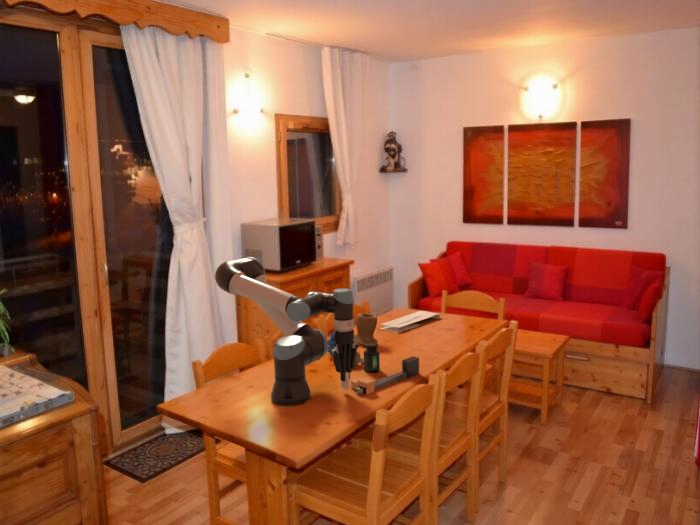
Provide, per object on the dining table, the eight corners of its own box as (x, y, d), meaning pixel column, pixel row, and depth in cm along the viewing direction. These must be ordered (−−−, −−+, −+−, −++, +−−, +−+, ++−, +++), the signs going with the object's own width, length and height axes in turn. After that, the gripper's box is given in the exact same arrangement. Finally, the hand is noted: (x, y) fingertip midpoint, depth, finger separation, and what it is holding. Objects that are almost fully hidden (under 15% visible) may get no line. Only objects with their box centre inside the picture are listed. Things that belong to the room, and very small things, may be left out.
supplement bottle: (378, 374, 254) (378, 347, 252) (362, 373, 256) (362, 346, 254) (380, 368, 261) (380, 342, 259) (365, 368, 262) (364, 341, 260)
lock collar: (367, 394, 231) (366, 383, 230) (350, 388, 238) (350, 377, 237) (374, 391, 234) (374, 380, 233) (357, 385, 240) (357, 375, 240)
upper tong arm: (360, 396, 230) (359, 378, 229) (354, 394, 233) (354, 376, 232) (419, 373, 253) (419, 357, 252) (413, 372, 256) (413, 356, 254)
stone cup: (382, 342, 300) (381, 312, 298) (370, 348, 290) (370, 318, 288) (356, 338, 308) (355, 309, 305) (343, 344, 298) (343, 314, 295)
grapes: (335, 350, 289) (335, 325, 287) (347, 352, 285) (346, 327, 283) (320, 356, 279) (320, 331, 277) (332, 359, 275) (331, 333, 273)
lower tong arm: (368, 393, 233) (367, 376, 232) (365, 392, 234) (365, 375, 233) (419, 373, 253) (419, 357, 252) (416, 373, 254) (416, 357, 253)
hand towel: (379, 323, 322) (422, 309, 351) (379, 329, 323) (422, 315, 352) (397, 326, 314) (440, 312, 343) (397, 334, 314) (440, 319, 343)
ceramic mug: (348, 368, 262) (348, 351, 261) (337, 364, 268) (337, 347, 267) (367, 363, 269) (367, 347, 267) (356, 359, 275) (355, 343, 274)
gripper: (337, 334, 222) (339, 395, 226) (363, 327, 231) (364, 386, 235) (324, 331, 228) (326, 390, 231) (349, 324, 236) (351, 381, 240)
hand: (345, 388), depth 233 cm, fingers closed
